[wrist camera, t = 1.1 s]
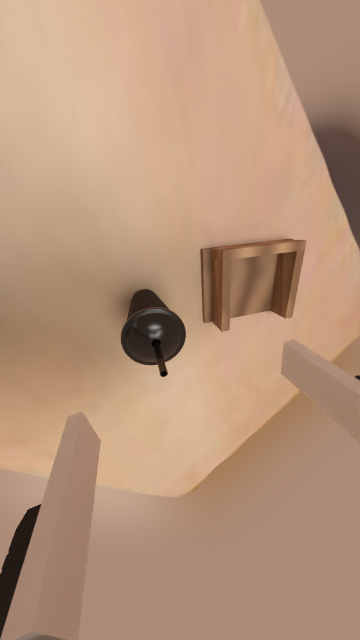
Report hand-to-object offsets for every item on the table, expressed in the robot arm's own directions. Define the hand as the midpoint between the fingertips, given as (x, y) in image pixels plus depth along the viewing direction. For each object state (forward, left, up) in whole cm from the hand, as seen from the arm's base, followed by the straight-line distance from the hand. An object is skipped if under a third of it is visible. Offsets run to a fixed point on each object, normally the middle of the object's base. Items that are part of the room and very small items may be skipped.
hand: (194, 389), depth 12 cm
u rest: (+19, -1, -24) cm, 31 cm away
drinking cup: (-2, -2, -25) cm, 25 cm away
